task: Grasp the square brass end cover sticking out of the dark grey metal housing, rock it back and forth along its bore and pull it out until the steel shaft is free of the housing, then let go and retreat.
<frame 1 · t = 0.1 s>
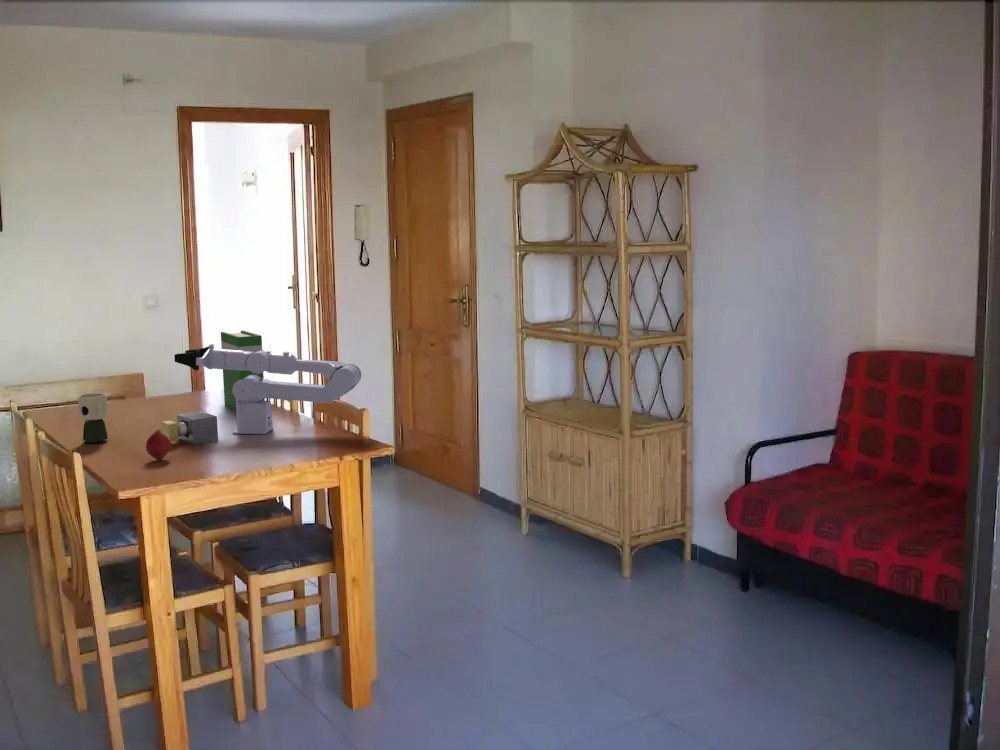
hand: (180, 356, 276), 22 cm above the table, tool horizontal, fingers open, 7 cm apart
character mug: (95, 442, 267), on the table
onion: (159, 461, 245), on the table
housing: (198, 439, 268), on the table
end cover: (180, 429, 264), point 4 cm above the table, slide at 0.0 cm
hardback book: (244, 408, 313), on the table
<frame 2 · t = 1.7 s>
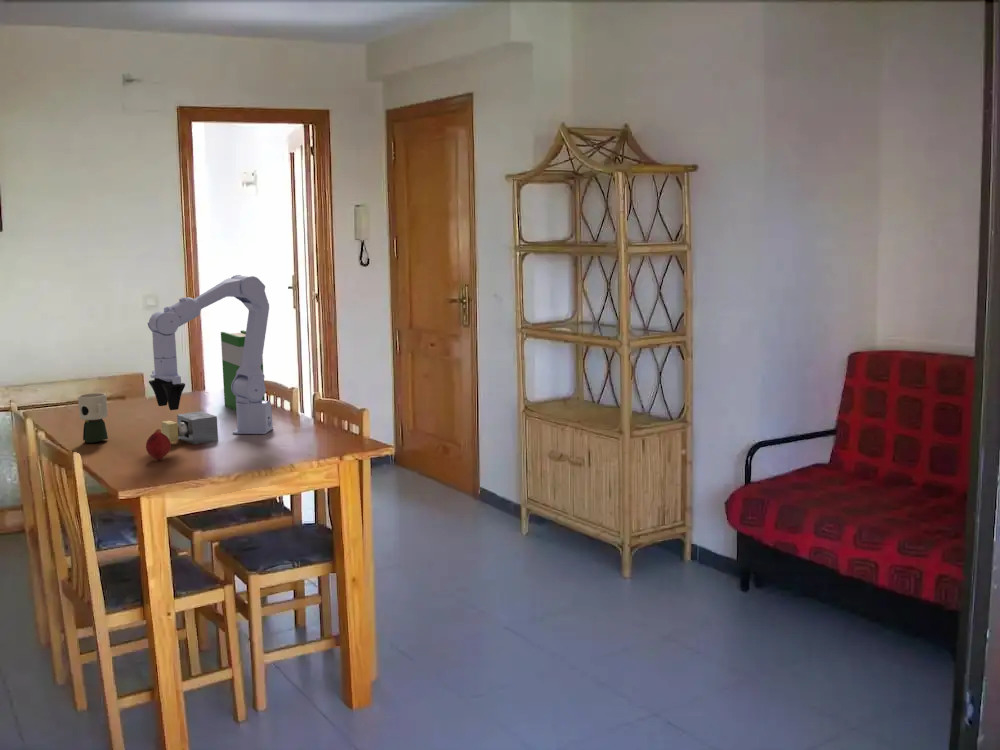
hand: (168, 407, 261), 10 cm above the table, tool pointing down, fingers open, 7 cm apart
nothing on the table moved.
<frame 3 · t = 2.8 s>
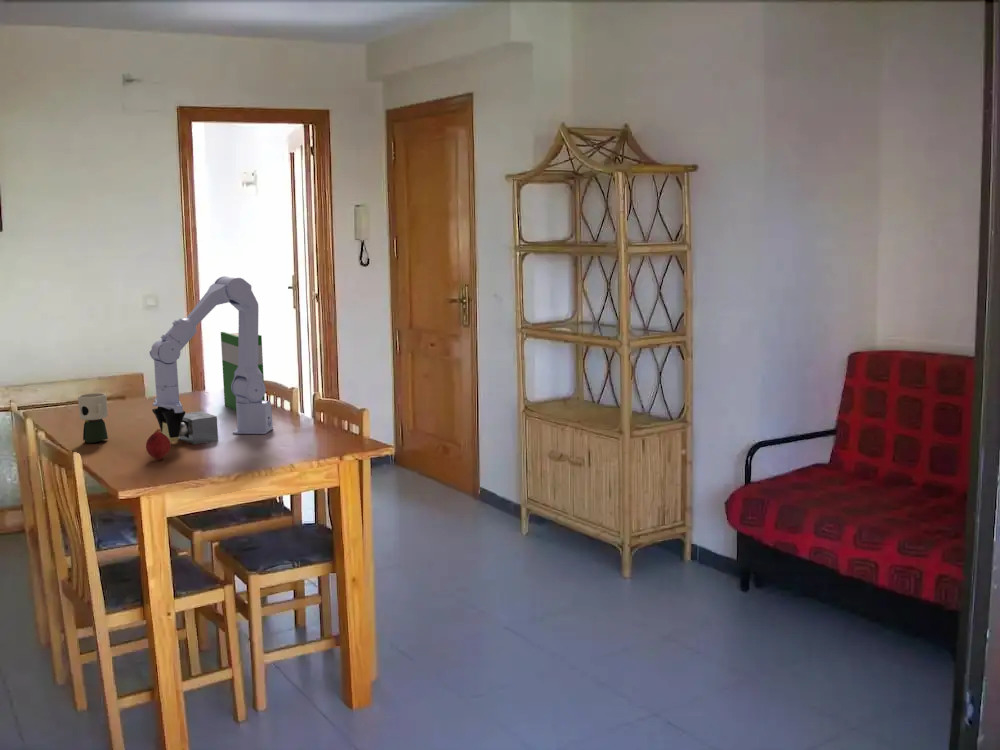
hand: (170, 435, 263), 2 cm above the table, tool pointing down, fingers closed on end cover, 5 cm apart
end cover: (180, 429, 264), point 4 cm above the table, slide at 0.0 cm, touching gripper
everything else where it was.
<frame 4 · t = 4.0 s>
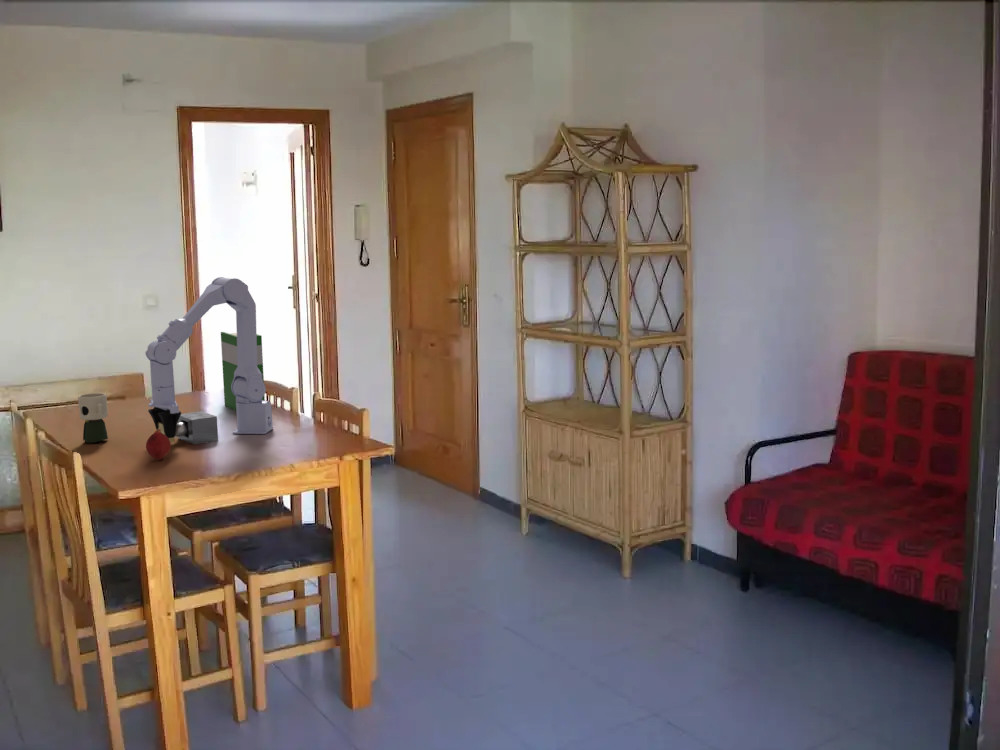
hand: (166, 436, 262), 2 cm above the table, tool pointing down, fingers closed on end cover, 5 cm apart
end cover: (176, 430, 264), point 4 cm above the table, slide at 1.1 cm, touching gripper
everything else where it was.
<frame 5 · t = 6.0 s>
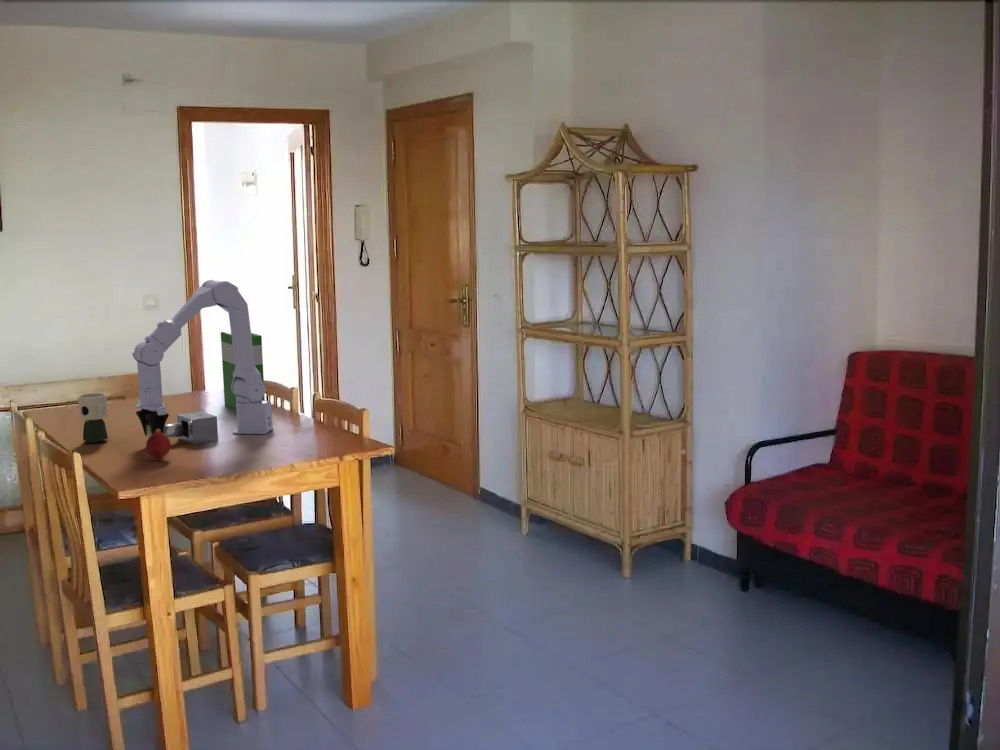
hand: (153, 437, 260), 2 cm above the table, tool pointing down, fingers closed on end cover, 5 cm apart
end cover: (164, 431, 261), point 4 cm above the table, slide at 4.4 cm, touching gripper
everything else where it was.
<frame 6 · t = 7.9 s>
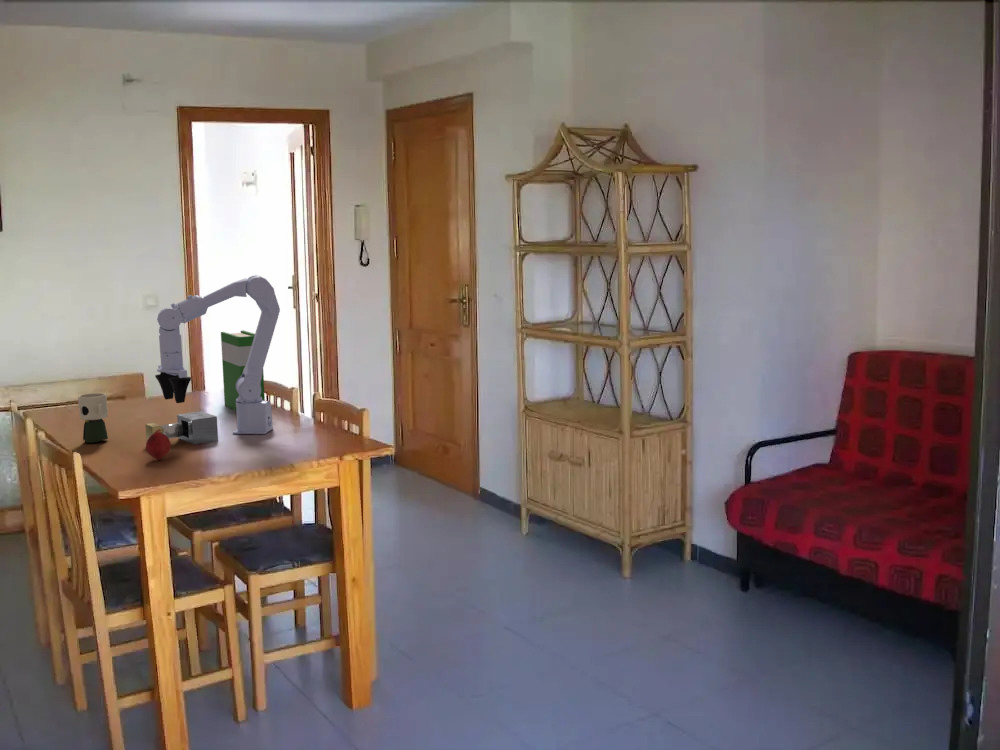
hand: (174, 400, 270), 10 cm above the table, tool pointing down, fingers open, 7 cm apart
end cover: (164, 431, 261), point 4 cm above the table, slide at 4.4 cm
everything else where it was.
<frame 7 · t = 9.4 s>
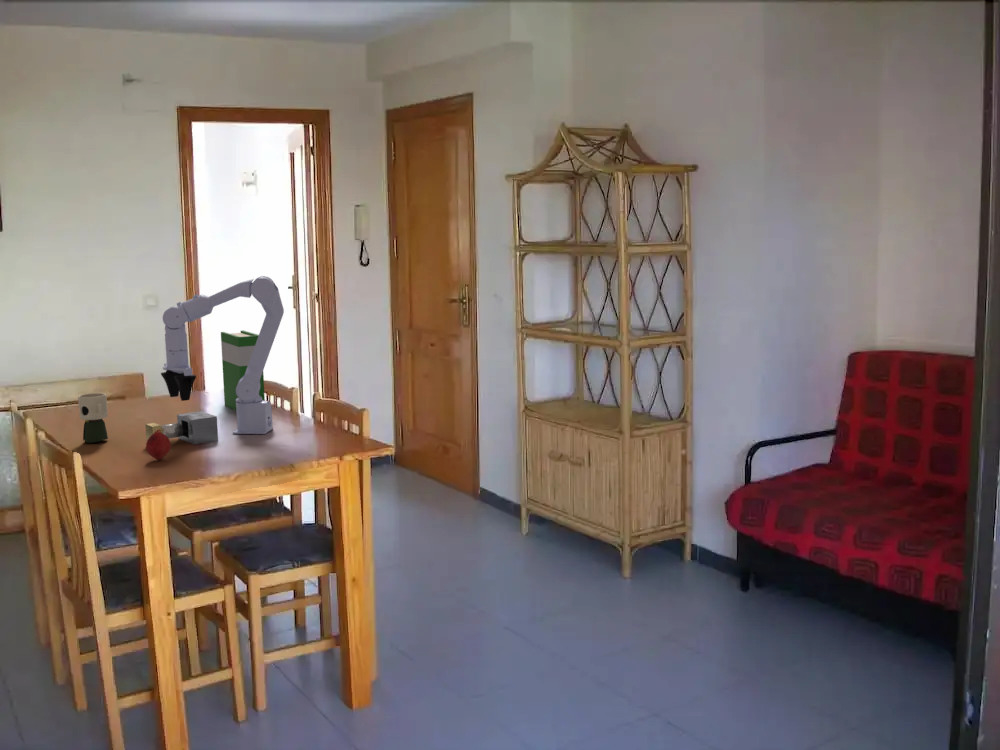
hand: (179, 398, 273), 10 cm above the table, tool pointing down, fingers open, 7 cm apart
nothing on the table moved.
at the end: end cover slide at 4.4 cm; the gripper is holding nothing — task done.
